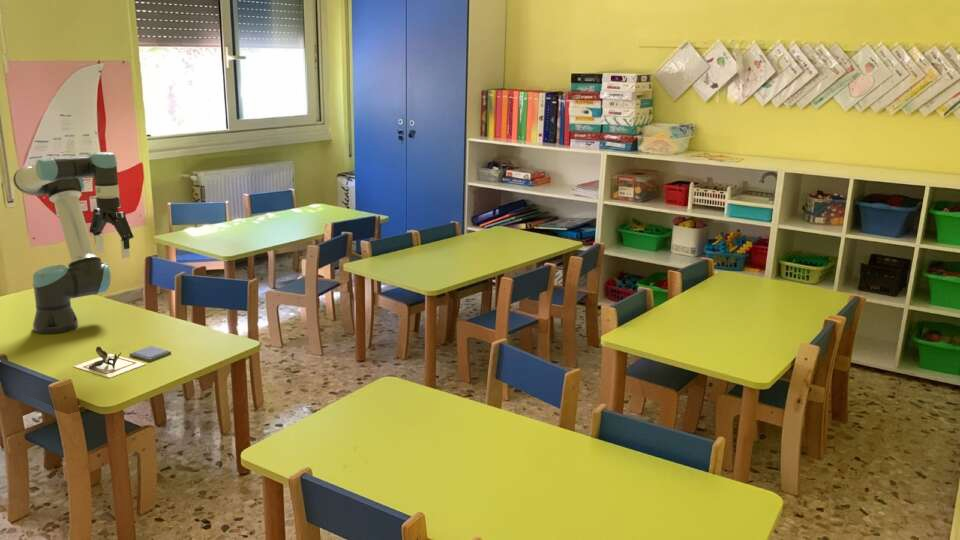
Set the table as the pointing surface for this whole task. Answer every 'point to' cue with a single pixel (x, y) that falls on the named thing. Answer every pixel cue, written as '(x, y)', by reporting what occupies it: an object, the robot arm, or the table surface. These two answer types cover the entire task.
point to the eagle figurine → (104, 358)
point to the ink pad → (150, 353)
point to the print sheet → (110, 366)
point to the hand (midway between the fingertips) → (113, 255)
